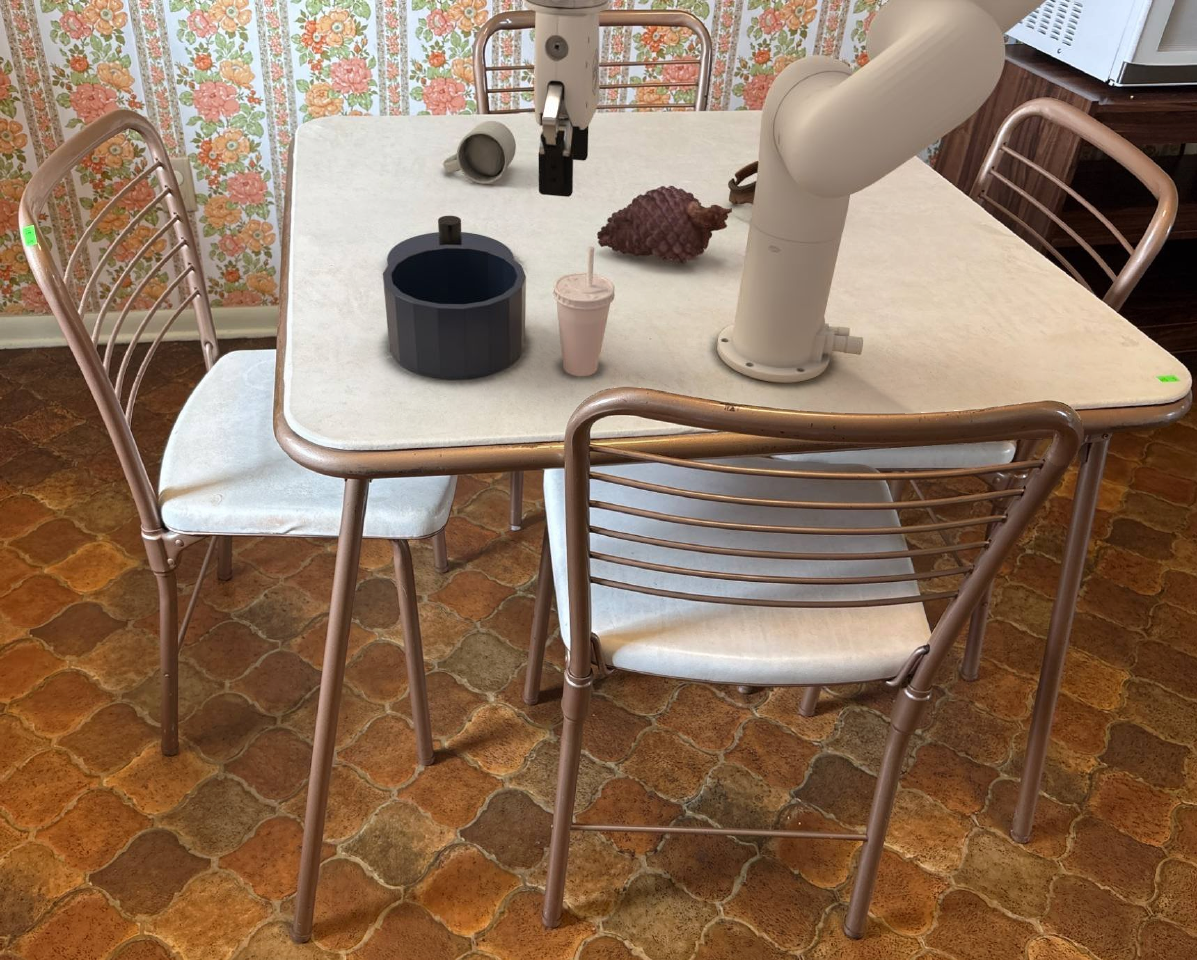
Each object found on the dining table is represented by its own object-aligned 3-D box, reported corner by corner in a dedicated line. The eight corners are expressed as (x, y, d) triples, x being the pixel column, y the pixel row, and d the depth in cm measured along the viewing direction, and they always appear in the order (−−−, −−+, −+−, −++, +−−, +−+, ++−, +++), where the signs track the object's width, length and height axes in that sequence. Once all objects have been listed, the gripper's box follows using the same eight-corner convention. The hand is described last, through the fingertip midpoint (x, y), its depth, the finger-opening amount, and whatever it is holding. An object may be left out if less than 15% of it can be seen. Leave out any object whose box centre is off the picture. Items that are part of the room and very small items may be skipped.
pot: (534, 319, 115) (535, 251, 110) (511, 387, 103) (510, 315, 98) (409, 306, 116) (404, 238, 111) (372, 373, 104) (365, 300, 99)
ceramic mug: (518, 167, 153) (517, 116, 148) (507, 186, 146) (506, 134, 141) (451, 161, 153) (448, 111, 149) (437, 181, 147) (434, 128, 142)
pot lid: (523, 245, 131) (524, 201, 127) (501, 301, 118) (500, 253, 114) (406, 234, 132) (403, 189, 128) (371, 288, 119) (367, 240, 115)
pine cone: (597, 273, 125) (585, 193, 124) (609, 278, 135) (598, 204, 134) (736, 249, 122) (725, 167, 121) (739, 256, 132) (729, 180, 131)
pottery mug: (791, 233, 140) (770, 183, 135) (733, 245, 145) (711, 197, 141) (817, 186, 146) (797, 136, 141) (760, 198, 152) (739, 151, 147)
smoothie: (603, 387, 104) (611, 265, 96) (544, 377, 105) (547, 256, 97) (614, 356, 109) (623, 238, 101) (558, 348, 110) (562, 230, 102)
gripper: (594, 13, 81) (588, 213, 91) (619, -29, 94) (612, 149, 105) (504, 7, 81) (508, 206, 92) (542, -34, 95) (542, 143, 105)
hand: (564, 176), depth 98 cm, fingers open, 9 cm apart
